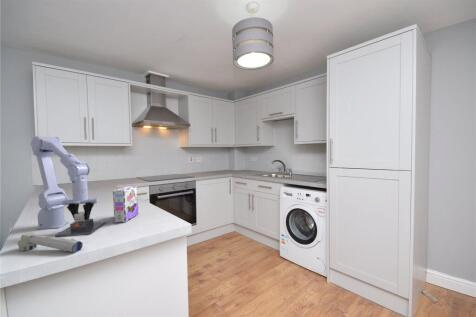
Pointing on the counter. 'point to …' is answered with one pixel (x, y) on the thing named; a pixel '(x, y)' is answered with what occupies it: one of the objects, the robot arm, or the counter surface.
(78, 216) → the column
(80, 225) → the stand
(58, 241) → the grey elongated piece
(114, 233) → the counter surface
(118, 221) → the candy box
